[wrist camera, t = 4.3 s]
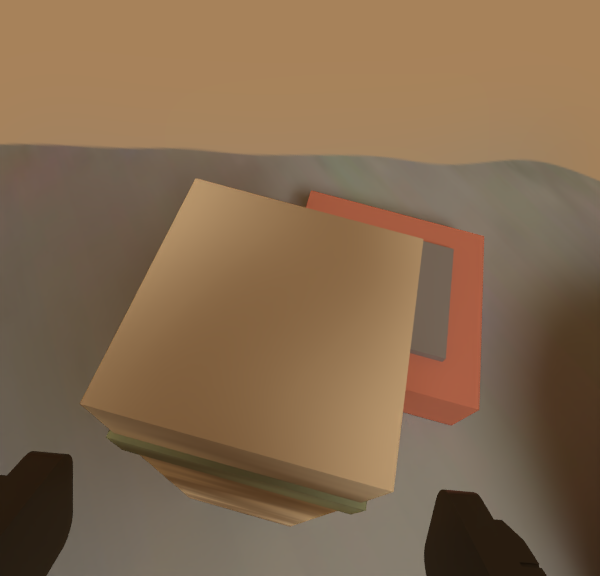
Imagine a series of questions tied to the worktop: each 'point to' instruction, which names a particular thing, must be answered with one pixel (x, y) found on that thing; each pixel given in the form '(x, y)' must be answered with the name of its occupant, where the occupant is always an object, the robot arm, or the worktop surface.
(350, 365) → the column
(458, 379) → the stand base
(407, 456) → the worktop surface
